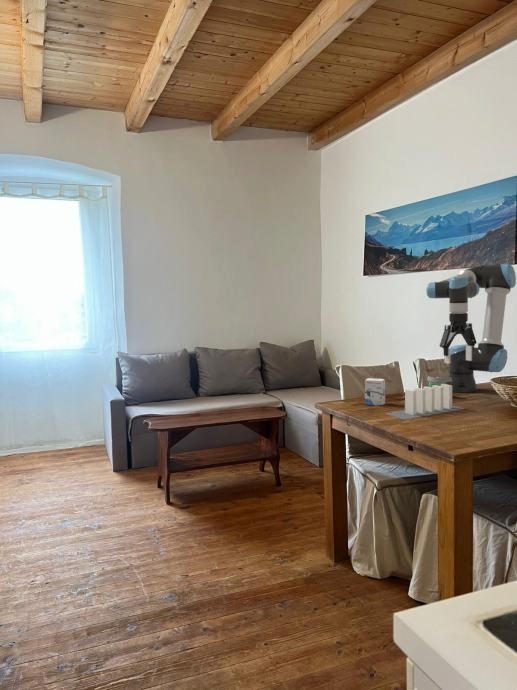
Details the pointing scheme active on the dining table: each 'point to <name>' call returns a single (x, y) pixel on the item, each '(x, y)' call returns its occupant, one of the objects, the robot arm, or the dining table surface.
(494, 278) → the robot arm
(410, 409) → the domino
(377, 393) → the ink box
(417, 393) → the domino
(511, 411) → the dining table surface
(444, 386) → the domino
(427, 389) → the domino
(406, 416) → the mat
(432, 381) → the food container
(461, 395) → the dining table surface
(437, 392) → the domino
